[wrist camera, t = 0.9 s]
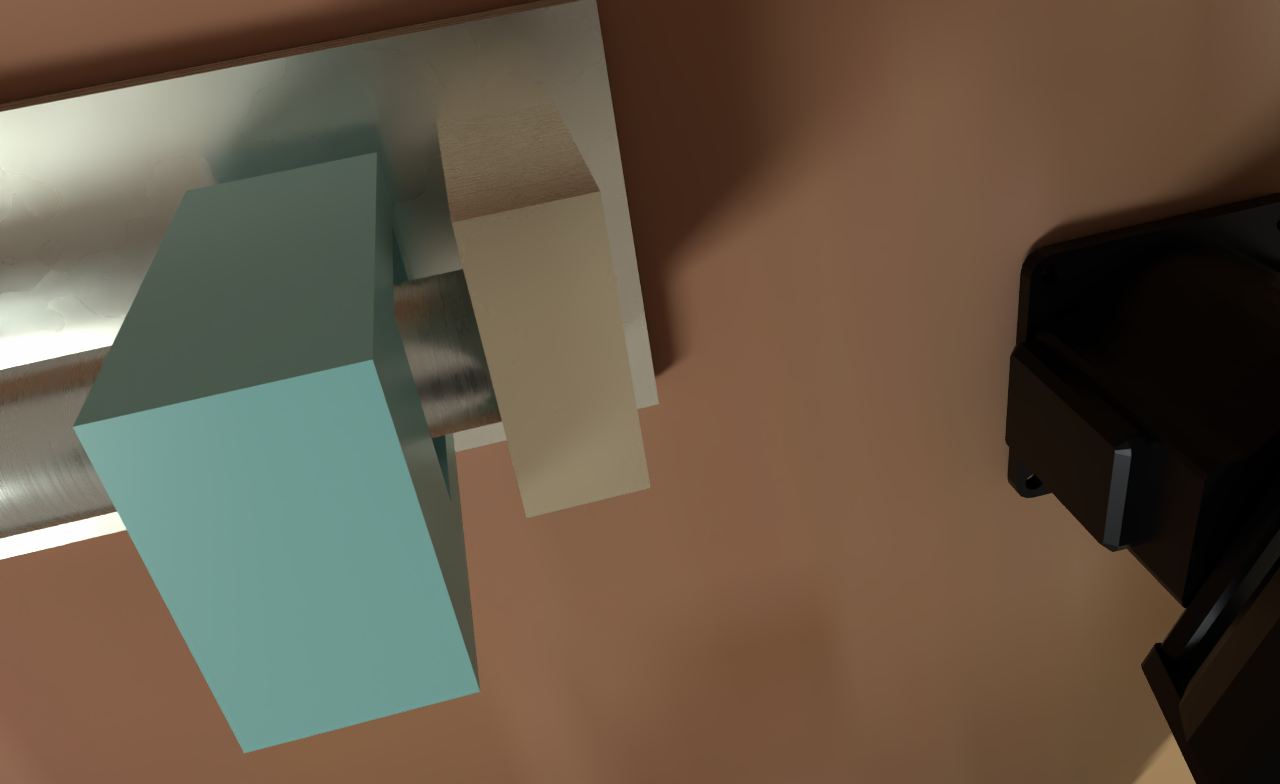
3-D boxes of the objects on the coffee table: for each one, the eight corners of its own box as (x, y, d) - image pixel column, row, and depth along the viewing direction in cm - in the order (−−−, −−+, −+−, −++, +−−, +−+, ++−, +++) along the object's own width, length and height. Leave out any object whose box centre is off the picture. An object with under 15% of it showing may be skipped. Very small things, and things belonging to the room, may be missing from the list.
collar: (377, 152, 16) (371, 359, 11) (450, 410, 19) (480, 692, 13) (186, 191, 16) (72, 427, 10) (288, 448, 19) (244, 752, 13)
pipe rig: (589, -9, 17) (659, 63, 13) (652, 389, 22) (721, 546, 17) (-803, 257, 15) (-1290, 453, 11) (-428, 642, 19) (-667, 896, 15)
